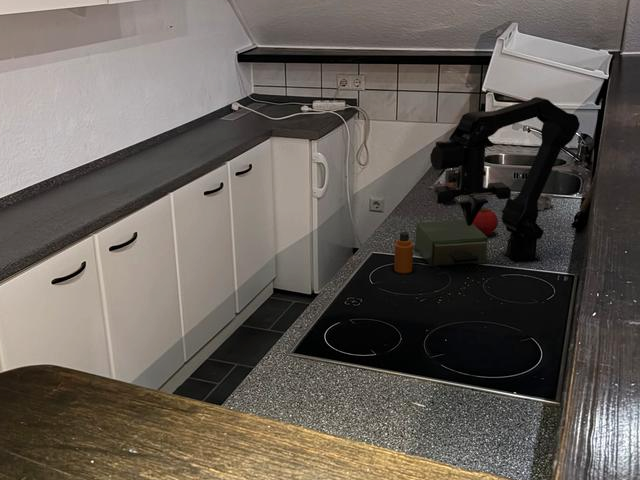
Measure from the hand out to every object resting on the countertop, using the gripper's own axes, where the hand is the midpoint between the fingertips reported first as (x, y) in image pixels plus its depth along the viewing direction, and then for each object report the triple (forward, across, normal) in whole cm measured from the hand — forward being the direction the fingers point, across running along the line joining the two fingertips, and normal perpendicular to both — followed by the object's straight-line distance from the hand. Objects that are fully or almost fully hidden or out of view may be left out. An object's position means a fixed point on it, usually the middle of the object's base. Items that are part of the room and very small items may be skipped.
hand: (468, 225), depth 193 cm
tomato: (+12, -12, -22) cm, 28 cm away
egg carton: (+12, -38, -44) cm, 59 cm away
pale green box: (+11, +2, -8) cm, 14 cm away
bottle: (+11, +17, -1) cm, 20 cm away
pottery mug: (+12, -14, -54) cm, 57 cm away
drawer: (+10, +2, -5) cm, 11 cm away
